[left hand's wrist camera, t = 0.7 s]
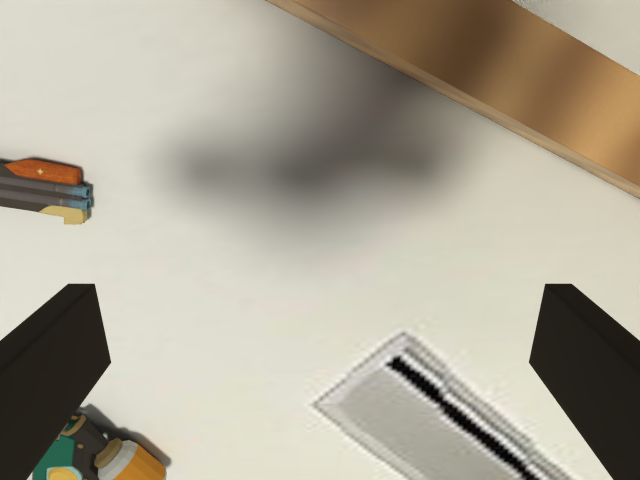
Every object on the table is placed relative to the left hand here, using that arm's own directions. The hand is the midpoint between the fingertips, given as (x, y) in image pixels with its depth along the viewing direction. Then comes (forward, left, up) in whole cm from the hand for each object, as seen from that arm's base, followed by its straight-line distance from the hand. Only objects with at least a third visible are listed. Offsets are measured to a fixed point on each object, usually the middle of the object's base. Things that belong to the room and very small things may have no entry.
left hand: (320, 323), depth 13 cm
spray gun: (+39, +5, -22) cm, 45 cm away
